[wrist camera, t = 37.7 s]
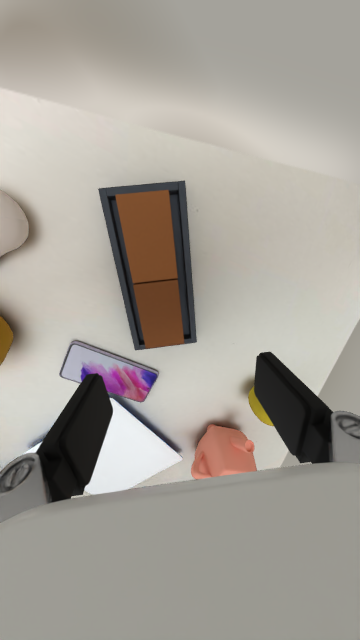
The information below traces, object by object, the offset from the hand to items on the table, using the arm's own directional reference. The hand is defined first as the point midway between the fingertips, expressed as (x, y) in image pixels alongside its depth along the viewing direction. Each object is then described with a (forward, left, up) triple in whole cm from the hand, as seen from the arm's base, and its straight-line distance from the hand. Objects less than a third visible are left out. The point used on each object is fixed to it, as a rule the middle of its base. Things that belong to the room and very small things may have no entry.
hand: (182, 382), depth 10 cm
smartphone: (+11, -12, -17) cm, 23 cm away
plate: (+30, -17, -17) cm, 38 cm away
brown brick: (0, -2, -17) cm, 17 cm away
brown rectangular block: (-9, -2, -17) cm, 19 cm away
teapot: (+32, +6, -17) cm, 37 cm away
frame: (-4, -2, -17) cm, 18 cm away
